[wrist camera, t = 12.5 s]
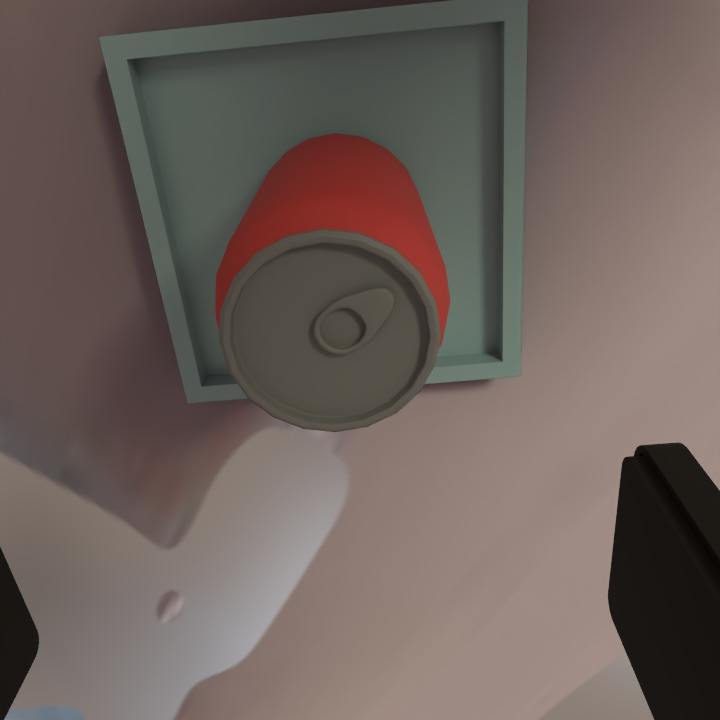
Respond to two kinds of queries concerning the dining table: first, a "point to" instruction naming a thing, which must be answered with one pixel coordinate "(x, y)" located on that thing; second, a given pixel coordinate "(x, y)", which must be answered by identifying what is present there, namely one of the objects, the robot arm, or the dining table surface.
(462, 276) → the slate tray
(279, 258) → the beer can
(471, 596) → the dining table surface
